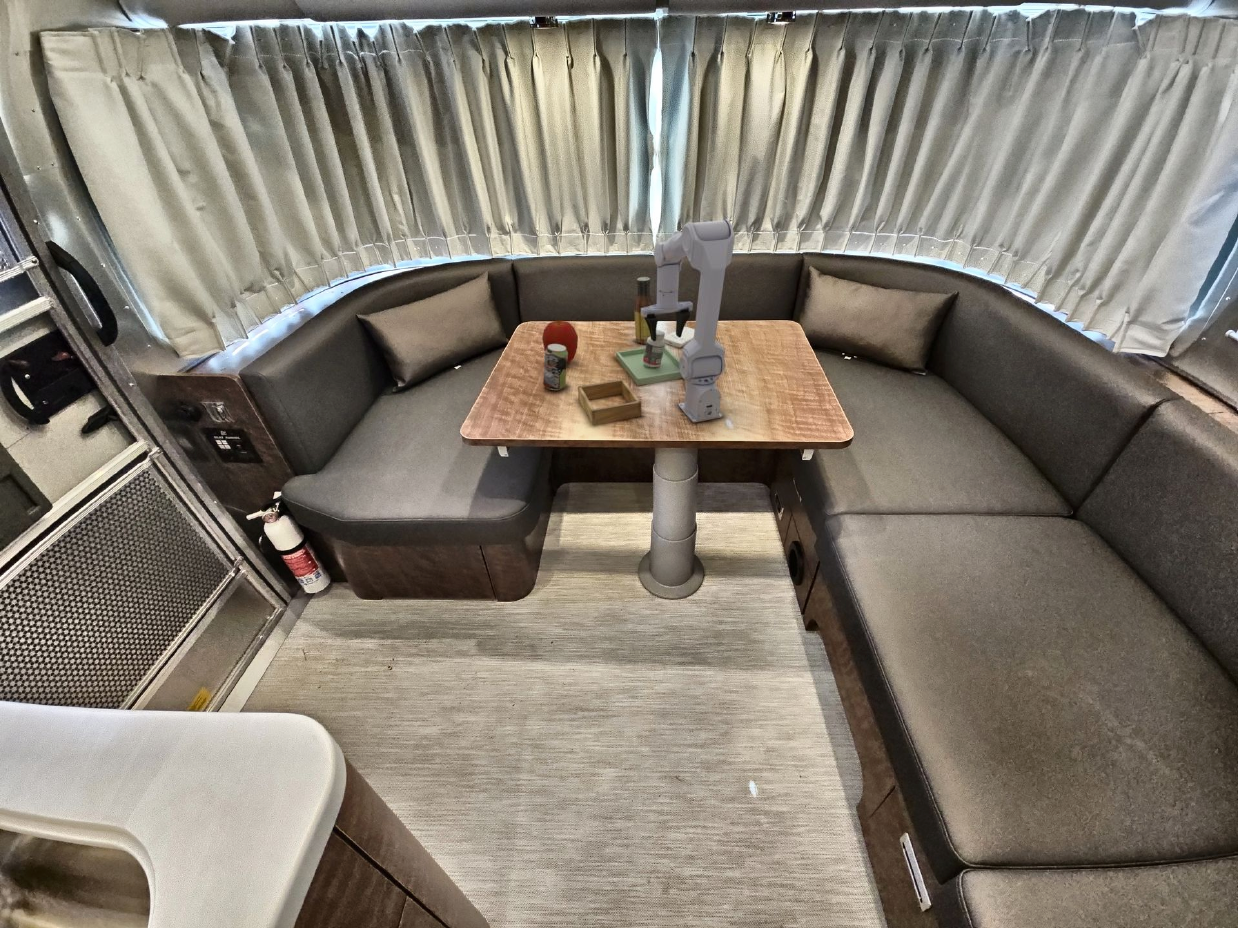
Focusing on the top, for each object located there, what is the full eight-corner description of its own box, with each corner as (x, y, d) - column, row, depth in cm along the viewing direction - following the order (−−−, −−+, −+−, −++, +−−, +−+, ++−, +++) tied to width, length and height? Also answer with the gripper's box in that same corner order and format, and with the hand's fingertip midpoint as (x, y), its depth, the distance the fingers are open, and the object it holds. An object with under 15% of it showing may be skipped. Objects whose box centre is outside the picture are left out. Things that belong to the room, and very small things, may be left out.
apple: (546, 372, 155) (541, 326, 147) (543, 358, 163) (538, 313, 155) (581, 368, 156) (578, 322, 148) (577, 354, 164) (574, 310, 156)
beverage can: (541, 384, 148) (536, 344, 141) (566, 380, 150) (563, 340, 143) (547, 394, 143) (542, 353, 136) (573, 389, 145) (570, 348, 138)
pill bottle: (640, 359, 157) (646, 327, 151) (657, 360, 158) (664, 329, 153) (645, 367, 153) (651, 335, 147) (662, 368, 154) (670, 336, 149)
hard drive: (704, 337, 174) (680, 348, 167) (684, 330, 179) (660, 341, 171) (704, 332, 173) (680, 343, 166) (684, 326, 178) (660, 336, 170)
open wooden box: (641, 416, 133) (641, 402, 131) (592, 425, 130) (591, 410, 128) (623, 392, 143) (623, 378, 141) (578, 400, 140) (577, 386, 138)
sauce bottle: (658, 339, 173) (659, 277, 161) (648, 346, 168) (649, 283, 157) (640, 336, 176) (640, 274, 164) (630, 342, 171) (630, 280, 160)
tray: (689, 376, 150) (689, 370, 149) (637, 385, 147) (637, 379, 145) (663, 350, 166) (663, 344, 164) (615, 358, 162) (615, 351, 161)
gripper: (686, 282, 147) (683, 329, 155) (636, 288, 143) (636, 336, 151) (697, 289, 141) (694, 338, 149) (646, 296, 138) (645, 345, 145)
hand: (666, 338), depth 150 cm, fingers open, 7 cm apart
